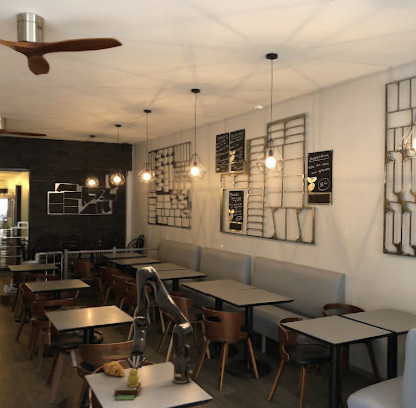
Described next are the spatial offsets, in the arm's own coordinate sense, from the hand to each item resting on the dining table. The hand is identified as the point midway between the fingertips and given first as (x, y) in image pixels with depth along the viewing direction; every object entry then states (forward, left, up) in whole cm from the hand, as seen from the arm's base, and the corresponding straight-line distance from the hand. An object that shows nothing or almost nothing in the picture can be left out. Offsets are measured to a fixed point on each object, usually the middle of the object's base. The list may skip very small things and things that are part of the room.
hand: (134, 374), depth 262 cm
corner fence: (+1, +13, -5) cm, 14 cm away
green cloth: (+1, +21, -5) cm, 22 cm away
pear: (0, +4, -5) cm, 6 cm away
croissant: (+15, -15, -5) cm, 22 cm away
